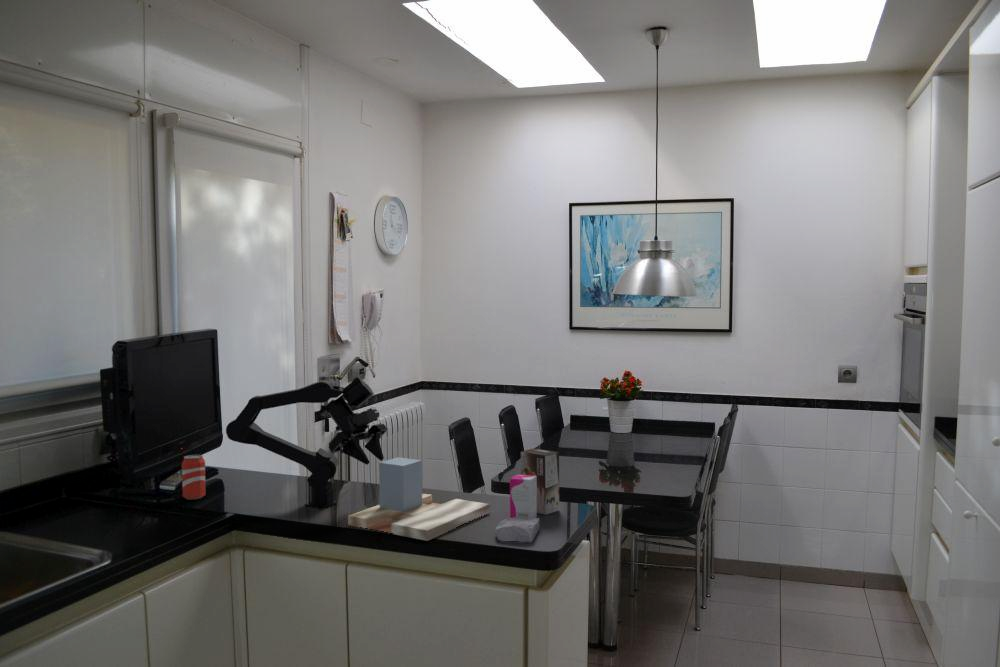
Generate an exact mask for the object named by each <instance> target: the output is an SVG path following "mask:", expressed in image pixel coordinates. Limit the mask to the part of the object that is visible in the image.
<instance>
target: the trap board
mask: <svg viewBox="0 0 1000 667" xmlns="http://www.w3.org/2000/svg"><path fill="white" fill-rule="evenodd" d="M490 505H491V504H490V503H485V502H479V501H472V500H466V499H461V498H454V499H452V500H449V501H446V502H443V503H437V502H433V494H430V493H423V492H422V505H421V506H418V507H415V508H413V509H410V510H407V511H405V512H401V511H396V510H390V509H384V508H380V504H377V505H374V506H372V507H371V506H370V507H369V508H366V509H363V510H361V511H357V512H354V513H351V514H349V515H347V520H348V521H347V523H348V524H347V525H348V526H350V525H351V526H350V527H356V528H360V527H362V528H361V529H365V528H368V529H367V530H370V529H374V530H373V531H375V530H380V531H384V532H383V533H385V532H388V533H387V534H390V533H393V534H392V535H396V536H401V537H406V538H411V539H416V540H421V541H425V542H426V541H427V542H428V541H431V540H433V539H435V538H437V537H439V536H442V535H444V534H446V533H448V531H449V532H450V530H451V531H453V530H455V529H457V528H456V527H458V526H460V525H462V524H464V523H467V522H469V521H471V522H473V521H475V520H474V519H476V518H478V519H479V517H480V518H482V517H484V515H485V516H486V514H487V515H489V514H490V513H491V512H490V511H491V510H490V508H491V507H490ZM481 516H482V517H481ZM387 519H392V520H393V521H394V522H393V521H391V523H388V522H390V521H388V522H387V521H386V520H387ZM395 520H398V521H397V522H396V521H395ZM472 520H473V521H472ZM476 520H477V519H476ZM382 521H383V522H382ZM384 521H385V522H384ZM469 523H470V522H469ZM467 524H468V523H467ZM464 525H465V524H464ZM462 526H463V525H462ZM460 527H461V526H460ZM454 528H455V529H454ZM458 528H459V527H458ZM452 529H453V530H452ZM380 531H379V532H380Z"/></svg>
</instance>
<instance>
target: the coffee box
mask: <svg viewBox="0 0 1000 667" xmlns="http://www.w3.org/2000/svg"><path fill="white" fill-rule="evenodd" d="M520 475H533V476H537V514H540V515H550V514H553V513H557V512H559V511H560V452H559V451H552V450H546V449H542V448H531V449H525V450H522V451H520Z"/></svg>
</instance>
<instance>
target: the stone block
mask: <svg viewBox="0 0 1000 667" xmlns="http://www.w3.org/2000/svg"><path fill="white" fill-rule="evenodd" d="M539 530H540V518H539V517H537V518H531V517H526V516H516V517H513V518H510V517H507V518H506V517H505V518H504V519H502V521H500V522H499V523H498V524H497V527H496V528H495V536H496V539H497V541H499V540H501V541H500V542H505V541H519V542H518V543H527V542H529V544H531V543H533V542H534V539H535V537H536V535H537V534H538V532H539Z"/></svg>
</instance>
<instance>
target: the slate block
mask: <svg viewBox="0 0 1000 667" xmlns="http://www.w3.org/2000/svg"><path fill="white" fill-rule="evenodd" d="M378 467H379V468H378V472H379V476H378V479H379V482H378V483H379V489H378V490H379V494H378V495H379V496H378V497H379V505H380V508H384V509H390V510H396V511H401V512H405V511H407V510H410V509H413V508H415V507H418V506H421V505H422V493H423V460H421V459H415V458H406V457H399V456H398V457H395V458H391V459H387V460H382V461H380V462H379V464H378Z"/></svg>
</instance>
